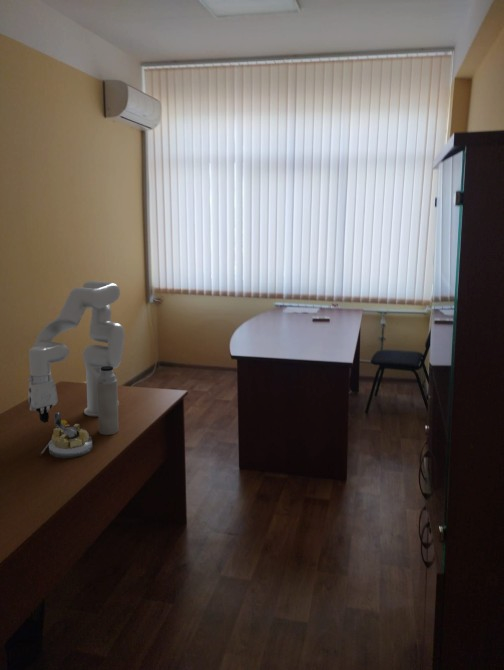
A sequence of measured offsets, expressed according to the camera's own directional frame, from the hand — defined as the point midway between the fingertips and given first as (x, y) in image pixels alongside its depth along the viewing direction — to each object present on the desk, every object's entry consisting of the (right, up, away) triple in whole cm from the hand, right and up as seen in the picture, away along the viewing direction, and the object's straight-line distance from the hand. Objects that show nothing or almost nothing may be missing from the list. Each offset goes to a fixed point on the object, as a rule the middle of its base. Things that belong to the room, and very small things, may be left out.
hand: (44, 421), depth 215 cm
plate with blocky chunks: (+12, -9, -5) cm, 16 cm away
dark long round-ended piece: (+10, -5, -3) cm, 12 cm away
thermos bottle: (+23, -6, +11) cm, 26 cm away
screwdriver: (+4, -8, 0) cm, 9 cm away
